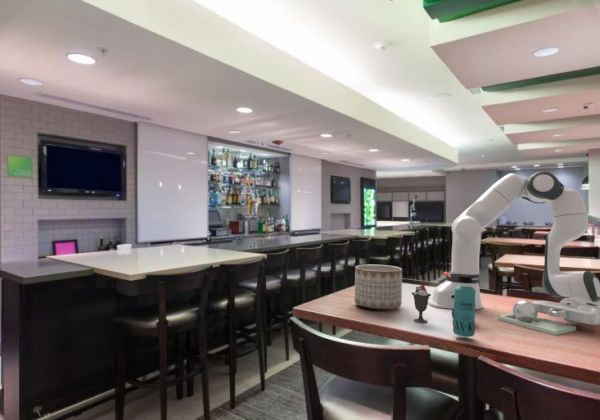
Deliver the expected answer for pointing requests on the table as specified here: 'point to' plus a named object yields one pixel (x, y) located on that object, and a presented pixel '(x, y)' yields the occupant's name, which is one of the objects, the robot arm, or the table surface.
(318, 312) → the table surface
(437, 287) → the robot arm
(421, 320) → the sundae
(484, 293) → the table surface
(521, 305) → the steel ball
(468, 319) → the beverage bottle
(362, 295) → the planter
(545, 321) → the hole plate
